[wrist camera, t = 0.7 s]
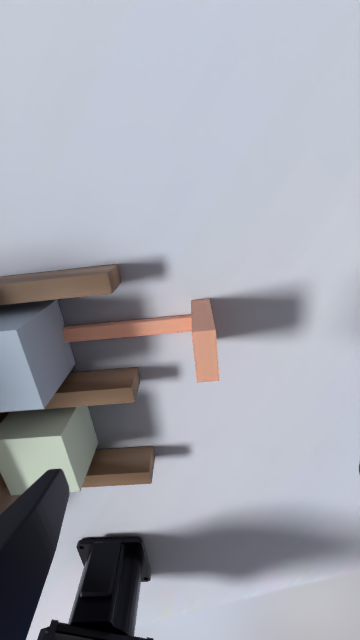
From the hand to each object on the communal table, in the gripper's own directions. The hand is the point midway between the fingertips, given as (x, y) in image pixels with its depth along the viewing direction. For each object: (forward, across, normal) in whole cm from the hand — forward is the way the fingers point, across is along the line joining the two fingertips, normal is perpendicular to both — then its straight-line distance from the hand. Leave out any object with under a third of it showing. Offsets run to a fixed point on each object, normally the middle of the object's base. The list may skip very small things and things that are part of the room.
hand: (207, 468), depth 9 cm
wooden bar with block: (+12, +7, 0) cm, 14 cm away
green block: (+12, +12, +8) cm, 18 cm away
